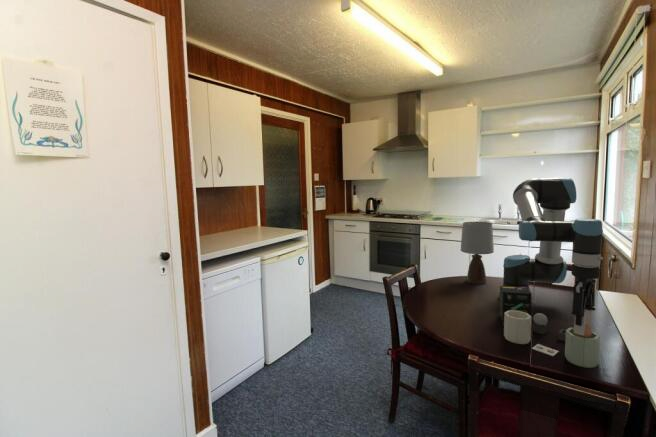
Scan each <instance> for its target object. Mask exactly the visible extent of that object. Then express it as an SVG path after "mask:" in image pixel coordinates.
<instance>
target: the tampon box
mask: <svg viewBox="0 0 656 437" xmlns="http://www.w3.org/2000/svg"><path fill="white" fill-rule="evenodd" d="M530 292H531V290H530V291H529V290H528V289H527V287H511V286H503V285H500V287H499V293H500V298H499V316H500V318H501V321H502V324H503V325H504V313H505V312H507V311H508V310H513V311H521V312H525V313H528V314H529V315H530V316H531V317H532V303H531V294H532V292H531V293H530Z"/></svg>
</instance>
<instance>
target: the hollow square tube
mask: <svg viewBox="0 0 656 437" xmlns="http://www.w3.org/2000/svg"><path fill="white" fill-rule="evenodd" d="M566 330H567V329H563V328H562V329H560V330H559V331H558V332H557V340H560V341H562V342H565V338H566Z"/></svg>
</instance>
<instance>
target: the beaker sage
mask: <svg viewBox="0 0 656 437" xmlns="http://www.w3.org/2000/svg"><path fill="white" fill-rule="evenodd" d="M565 330H566V338H565V341H564V343H565V344H564V345H565V346H564V357H565V359H566V361H568V363H570V364H573V365H574V366H578V367H581V368H587V369H592V368H596V367H598V364H599V360H600V359H599V358H600V341H601V340H600V337H601V335H599V334H598V333H597V332H595V331H593V330H592V335H591V336H590V337H589V338H583V337H579V336H576V335H575V333H574V327H568V328H567V329H565Z"/></svg>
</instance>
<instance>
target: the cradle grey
mask: <svg viewBox="0 0 656 437" xmlns="http://www.w3.org/2000/svg"><path fill="white" fill-rule="evenodd" d="M532 332H535V333H537V334H539V335H545V334H546V333H547V332H548V324H546V325H544V326H539V325H537V324H536V323H535V322H534V323H533V324H532Z"/></svg>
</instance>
